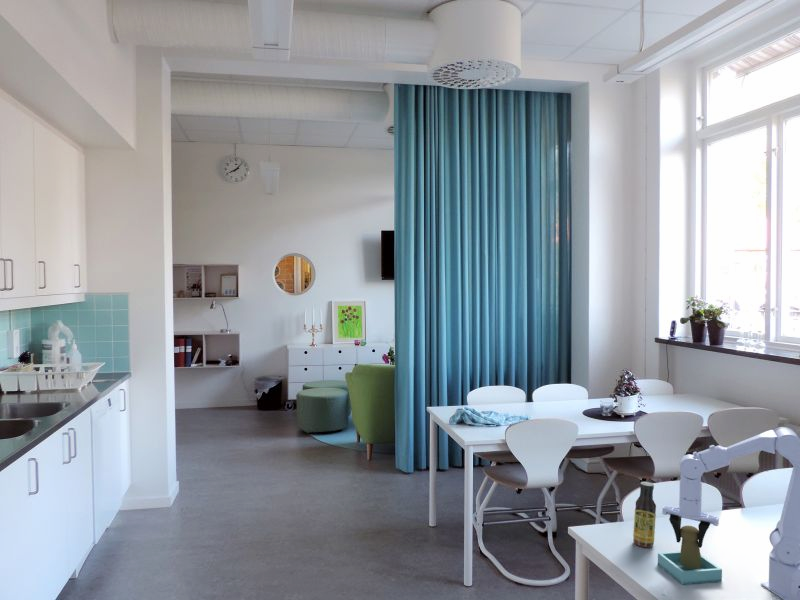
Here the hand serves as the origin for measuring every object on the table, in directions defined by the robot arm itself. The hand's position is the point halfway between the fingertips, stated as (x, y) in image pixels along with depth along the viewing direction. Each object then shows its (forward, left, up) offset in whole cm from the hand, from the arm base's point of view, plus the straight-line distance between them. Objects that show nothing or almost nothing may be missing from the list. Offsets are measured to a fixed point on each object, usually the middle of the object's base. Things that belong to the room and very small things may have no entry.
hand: (689, 543), depth 172 cm
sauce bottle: (+19, +2, -9) cm, 21 cm away
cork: (+1, -1, -7) cm, 7 cm away
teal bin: (0, 0, -8) cm, 8 cm away
